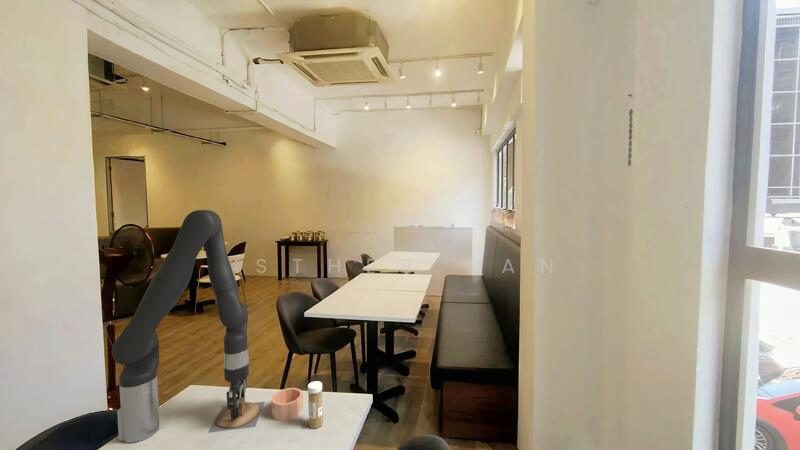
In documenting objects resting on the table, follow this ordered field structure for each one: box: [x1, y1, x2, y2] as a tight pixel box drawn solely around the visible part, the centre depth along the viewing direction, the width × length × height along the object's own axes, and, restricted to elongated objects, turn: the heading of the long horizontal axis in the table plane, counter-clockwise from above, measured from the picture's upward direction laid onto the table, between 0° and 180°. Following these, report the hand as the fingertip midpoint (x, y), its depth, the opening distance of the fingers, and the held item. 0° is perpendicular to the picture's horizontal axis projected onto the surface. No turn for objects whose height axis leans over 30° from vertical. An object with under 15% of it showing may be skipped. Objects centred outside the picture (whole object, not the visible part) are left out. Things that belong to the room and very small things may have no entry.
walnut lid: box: [215, 396, 259, 429], centre depth 110 cm, size 13×13×5 cm
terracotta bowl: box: [270, 387, 304, 421], centre depth 113 cm, size 10×10×6 cm
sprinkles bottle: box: [307, 380, 324, 429], centre depth 106 cm, size 5×5×13 cm
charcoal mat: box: [207, 401, 266, 434], centre depth 110 cm, size 14×14×1 cm
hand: (238, 411), depth 110 cm, fingers open, 7 cm apart
